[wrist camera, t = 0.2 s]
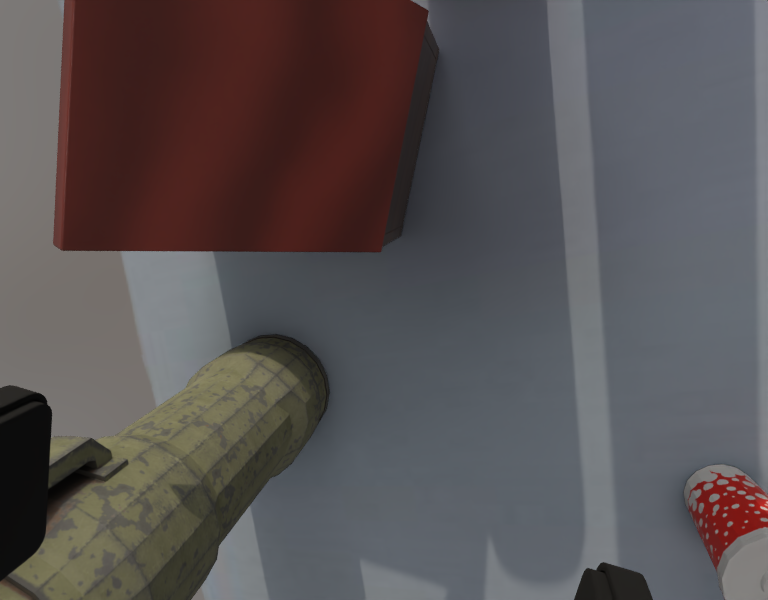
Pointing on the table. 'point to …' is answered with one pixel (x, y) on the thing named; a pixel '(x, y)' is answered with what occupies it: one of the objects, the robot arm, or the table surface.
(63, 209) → the chest lid
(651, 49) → the table surface
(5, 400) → the robot arm
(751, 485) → the beverage cup
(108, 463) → the thermos
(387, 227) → the chest
